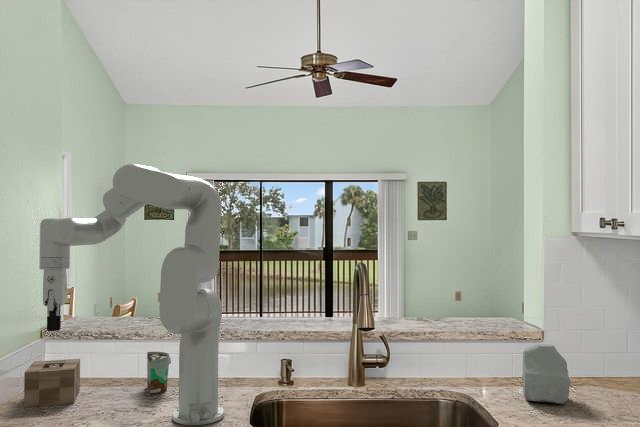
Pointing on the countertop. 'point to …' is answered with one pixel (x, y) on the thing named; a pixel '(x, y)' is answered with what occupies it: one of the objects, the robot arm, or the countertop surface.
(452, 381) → the countertop surface
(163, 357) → the food container
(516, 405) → the countertop surface
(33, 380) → the socket block
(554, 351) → the stone
